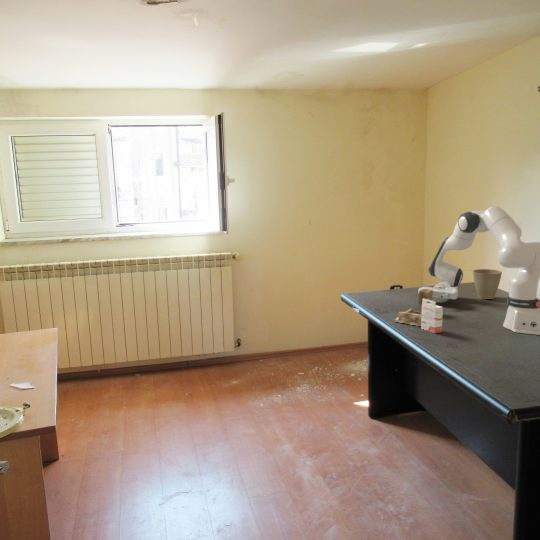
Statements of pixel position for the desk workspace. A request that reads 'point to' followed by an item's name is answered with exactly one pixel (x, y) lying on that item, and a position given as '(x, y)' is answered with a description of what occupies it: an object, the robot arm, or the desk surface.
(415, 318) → the track
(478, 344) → the desk surface
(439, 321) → the ink cartridge box
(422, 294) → the tall tan wooden block
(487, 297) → the plant pot
